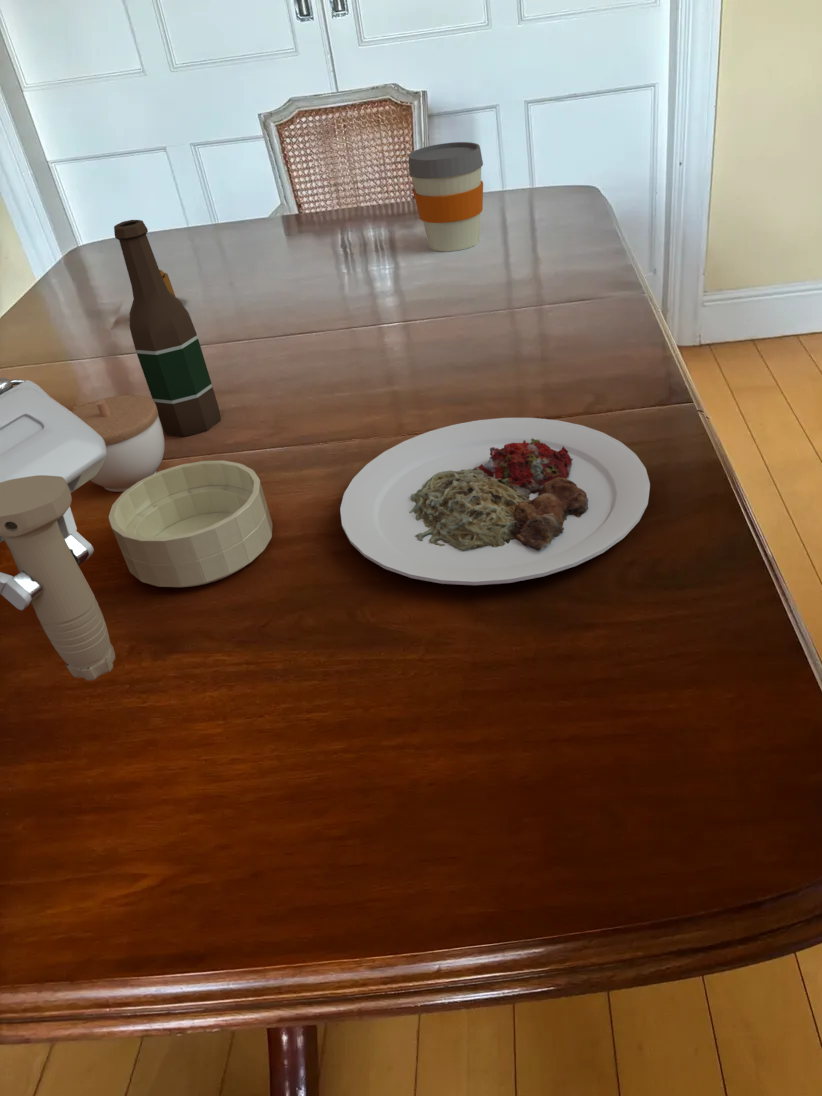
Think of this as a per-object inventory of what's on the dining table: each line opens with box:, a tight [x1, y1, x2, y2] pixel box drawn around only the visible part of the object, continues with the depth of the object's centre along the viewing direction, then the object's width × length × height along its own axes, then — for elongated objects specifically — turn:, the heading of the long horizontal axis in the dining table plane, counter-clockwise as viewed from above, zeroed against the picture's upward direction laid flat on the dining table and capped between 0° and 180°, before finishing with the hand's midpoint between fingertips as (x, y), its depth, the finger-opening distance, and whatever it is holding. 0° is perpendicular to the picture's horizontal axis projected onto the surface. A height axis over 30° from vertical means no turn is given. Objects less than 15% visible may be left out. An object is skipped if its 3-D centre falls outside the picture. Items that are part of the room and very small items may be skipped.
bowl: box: [107, 460, 274, 588], centre depth 86 cm, size 14×14×6 cm
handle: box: [0, 475, 116, 682], centre depth 62 cm, size 5×6×15 cm
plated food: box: [339, 417, 651, 586], centre depth 87 cm, size 30×30×3 cm
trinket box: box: [71, 394, 166, 493], centre depth 99 cm, size 11×11×9 cm
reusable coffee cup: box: [408, 141, 484, 252], centre depth 154 cm, size 13×13×15 cm
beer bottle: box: [113, 219, 222, 437], centre depth 105 cm, size 8×8×24 cm
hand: (59, 580), depth 61 cm, fingers closed on handle, 3 cm apart
